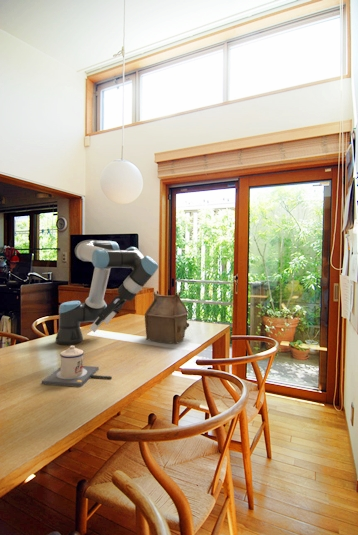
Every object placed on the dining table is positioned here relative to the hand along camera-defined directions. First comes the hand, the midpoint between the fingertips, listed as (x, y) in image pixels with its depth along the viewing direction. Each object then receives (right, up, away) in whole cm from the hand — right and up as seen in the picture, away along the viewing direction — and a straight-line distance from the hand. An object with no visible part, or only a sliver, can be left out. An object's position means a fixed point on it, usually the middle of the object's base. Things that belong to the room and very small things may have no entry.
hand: (98, 326), depth 127 cm
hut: (+26, -20, +59) cm, 67 cm away
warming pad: (-6, -20, -4) cm, 21 cm away
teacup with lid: (-10, -19, -3) cm, 22 cm away
